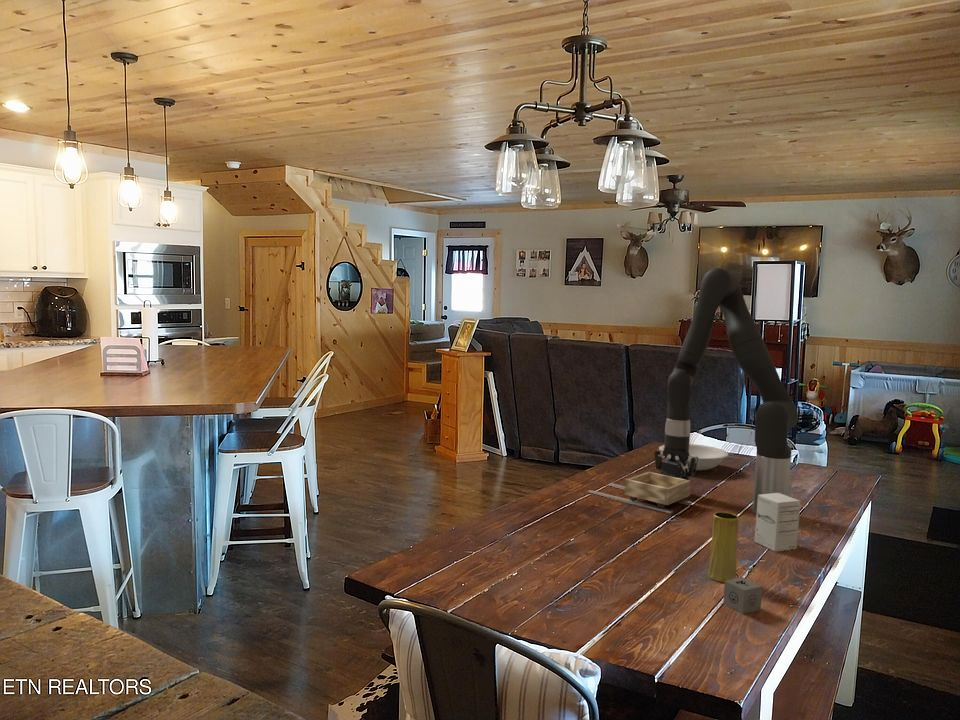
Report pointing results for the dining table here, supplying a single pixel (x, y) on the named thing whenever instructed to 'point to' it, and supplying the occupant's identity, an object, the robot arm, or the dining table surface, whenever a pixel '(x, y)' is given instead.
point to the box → (673, 468)
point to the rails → (636, 501)
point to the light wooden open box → (657, 488)
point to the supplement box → (777, 521)
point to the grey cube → (742, 595)
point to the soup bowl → (705, 455)
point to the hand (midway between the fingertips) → (674, 485)
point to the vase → (723, 547)
